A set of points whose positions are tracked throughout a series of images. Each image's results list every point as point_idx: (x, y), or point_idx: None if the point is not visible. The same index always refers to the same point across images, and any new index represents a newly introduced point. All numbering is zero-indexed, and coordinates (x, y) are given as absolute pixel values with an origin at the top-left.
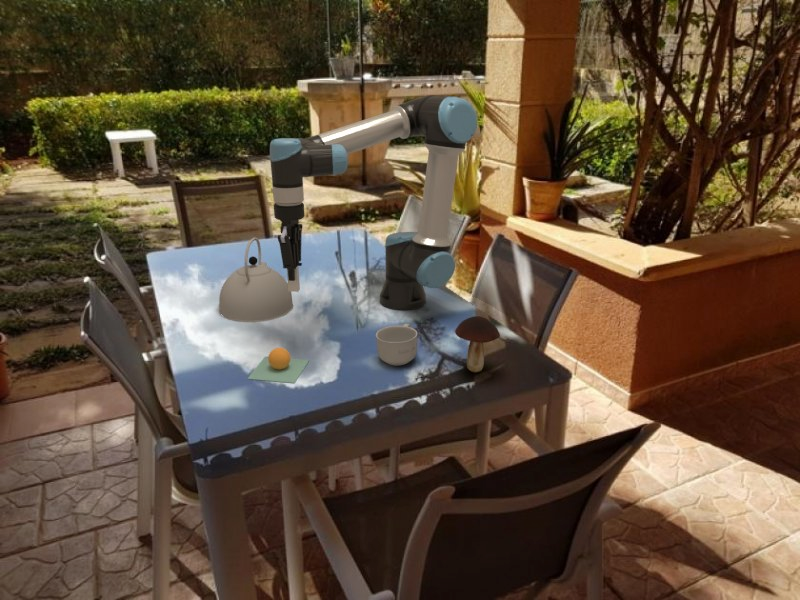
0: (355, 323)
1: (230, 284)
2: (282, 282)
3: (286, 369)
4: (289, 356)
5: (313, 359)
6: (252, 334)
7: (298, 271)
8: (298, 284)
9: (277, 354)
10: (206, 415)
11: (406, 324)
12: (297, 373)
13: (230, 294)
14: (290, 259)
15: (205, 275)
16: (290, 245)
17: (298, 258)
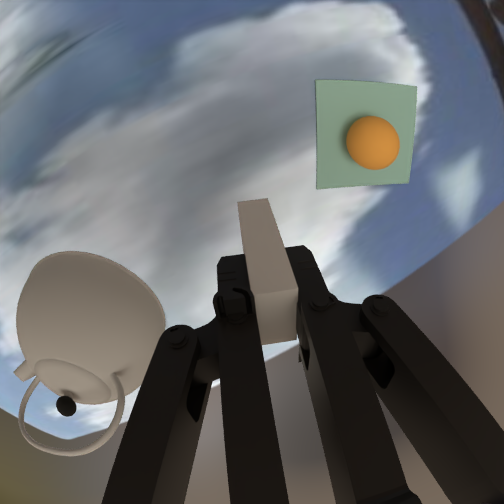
0: (50, 66)
1: (134, 388)
2: (41, 316)
3: None
4: (376, 119)
5: (303, 71)
6: (210, 265)
7: (254, 269)
8: (258, 218)
9: (398, 146)
10: (487, 195)
11: None
12: (382, 89)
13: None
14: (438, 357)
15: None
16: (488, 461)
17: (229, 352)
